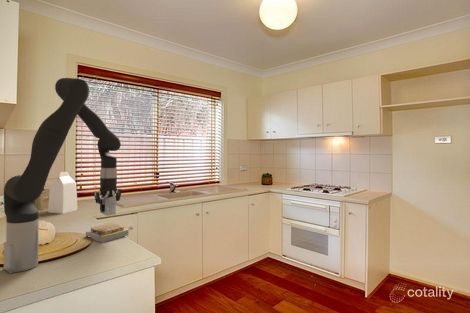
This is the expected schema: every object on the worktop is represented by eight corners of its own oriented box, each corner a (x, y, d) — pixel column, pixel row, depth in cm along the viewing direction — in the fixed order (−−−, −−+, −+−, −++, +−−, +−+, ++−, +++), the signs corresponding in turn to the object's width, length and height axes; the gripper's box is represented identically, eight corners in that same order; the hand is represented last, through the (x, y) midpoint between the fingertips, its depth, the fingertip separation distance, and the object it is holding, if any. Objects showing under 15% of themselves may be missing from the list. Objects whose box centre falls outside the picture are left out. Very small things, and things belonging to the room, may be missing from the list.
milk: (63, 213, 173) (63, 173, 172) (48, 212, 175) (48, 172, 174) (77, 209, 184) (78, 172, 184) (63, 208, 187) (63, 171, 186)
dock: (102, 242, 124) (102, 236, 124) (85, 236, 132) (85, 230, 132) (128, 234, 136) (128, 229, 136) (111, 229, 144) (112, 224, 144)
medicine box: (115, 214, 133) (116, 197, 132) (106, 216, 129) (107, 198, 129) (109, 211, 138) (109, 195, 138) (99, 213, 134) (100, 196, 134)
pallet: (103, 235, 126) (103, 232, 126) (90, 231, 132) (90, 227, 132) (124, 230, 136) (124, 226, 136) (111, 226, 142) (111, 222, 141)
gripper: (98, 178, 125) (98, 214, 125) (126, 176, 137) (125, 209, 138) (90, 177, 129) (89, 212, 130) (117, 175, 141) (116, 207, 142)
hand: (107, 210), depth 134 cm, fingers closed on medicine box, 5 cm apart
